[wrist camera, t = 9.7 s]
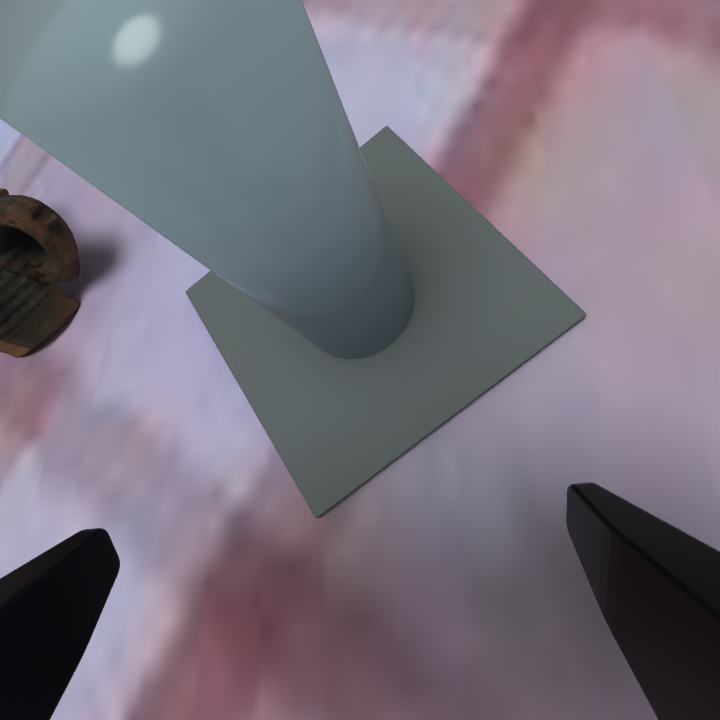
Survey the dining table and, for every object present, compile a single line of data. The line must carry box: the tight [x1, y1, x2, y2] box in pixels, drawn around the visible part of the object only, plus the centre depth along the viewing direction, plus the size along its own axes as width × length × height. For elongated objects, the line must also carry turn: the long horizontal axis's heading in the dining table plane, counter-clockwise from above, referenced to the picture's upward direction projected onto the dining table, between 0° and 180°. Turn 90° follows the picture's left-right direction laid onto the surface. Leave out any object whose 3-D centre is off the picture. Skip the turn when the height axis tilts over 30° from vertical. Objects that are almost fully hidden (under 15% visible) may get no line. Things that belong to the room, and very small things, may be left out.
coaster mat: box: [185, 126, 587, 518], centre depth 20 cm, size 14×14×1 cm
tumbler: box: [0, 0, 414, 359], centre depth 13 cm, size 6×6×14 cm
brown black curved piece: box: [0, 189, 80, 357], centre depth 25 cm, size 12×10×8 cm
